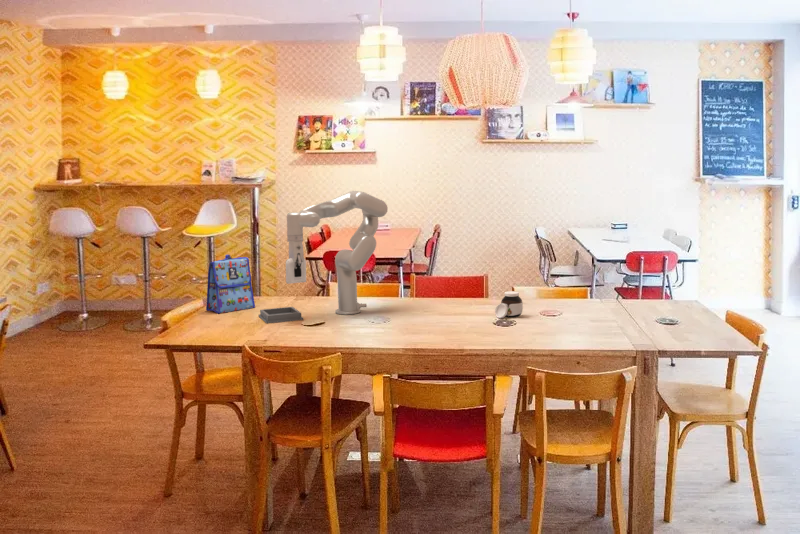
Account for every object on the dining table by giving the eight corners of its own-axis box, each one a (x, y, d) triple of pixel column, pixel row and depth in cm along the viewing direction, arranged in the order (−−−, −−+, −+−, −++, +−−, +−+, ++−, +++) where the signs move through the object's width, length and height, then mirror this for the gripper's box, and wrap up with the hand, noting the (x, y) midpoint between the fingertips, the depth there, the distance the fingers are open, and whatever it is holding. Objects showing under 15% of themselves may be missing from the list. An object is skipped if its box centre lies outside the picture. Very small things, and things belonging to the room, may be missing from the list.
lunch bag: (218, 314, 433) (215, 257, 428) (205, 310, 443) (202, 255, 438) (255, 308, 447) (253, 253, 442) (242, 304, 457) (239, 250, 452)
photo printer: (303, 281, 418) (302, 255, 416) (307, 282, 414) (307, 256, 412) (284, 283, 412) (283, 257, 410) (288, 284, 408) (288, 258, 406)
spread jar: (524, 315, 415) (524, 291, 413) (517, 320, 404) (517, 295, 403) (500, 313, 420) (500, 290, 418) (493, 318, 409) (492, 294, 408)
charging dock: (293, 313, 432) (293, 306, 431) (303, 319, 415) (303, 312, 414) (258, 316, 425) (258, 309, 424) (266, 323, 408) (266, 316, 408)
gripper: (308, 239, 404) (309, 277, 406) (297, 236, 419) (298, 273, 422) (292, 240, 401) (293, 279, 403) (282, 237, 416) (283, 274, 419)
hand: (296, 275), depth 412 cm, fingers closed on photo printer, 4 cm apart
